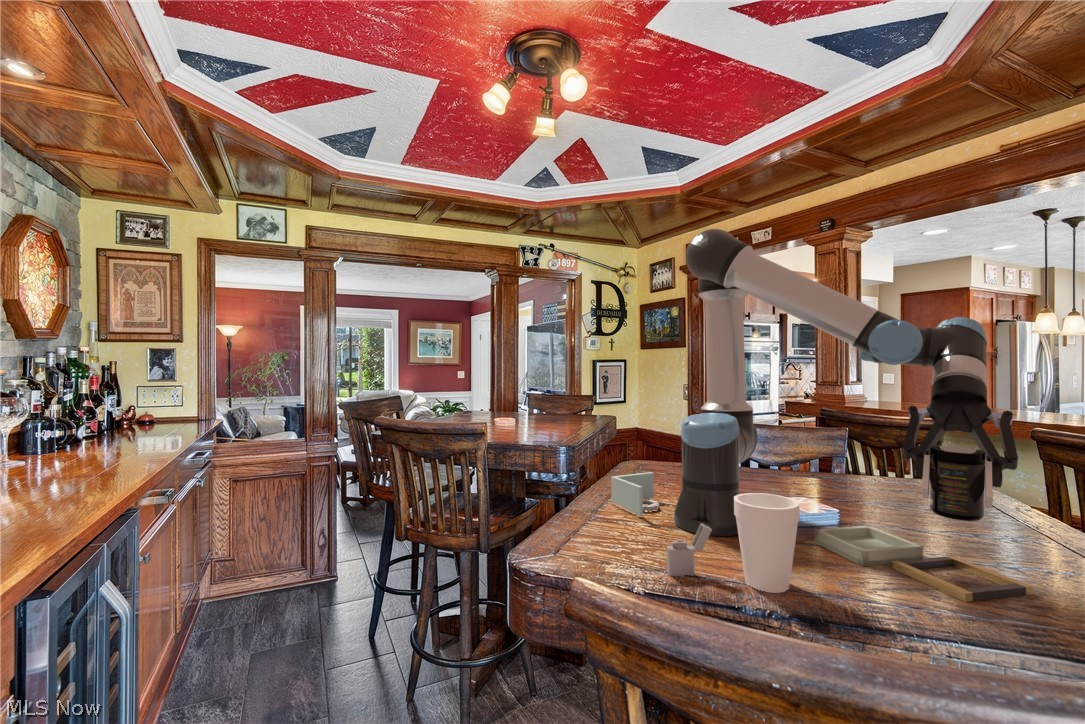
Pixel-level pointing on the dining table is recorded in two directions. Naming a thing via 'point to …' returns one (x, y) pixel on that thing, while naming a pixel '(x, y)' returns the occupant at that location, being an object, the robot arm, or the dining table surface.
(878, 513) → the dining table surface
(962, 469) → the supplement container
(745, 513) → the foam cup
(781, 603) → the dining table surface
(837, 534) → the shallow grey-green tray
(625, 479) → the l-shaped corner panel
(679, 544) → the lighter
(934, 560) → the frame
